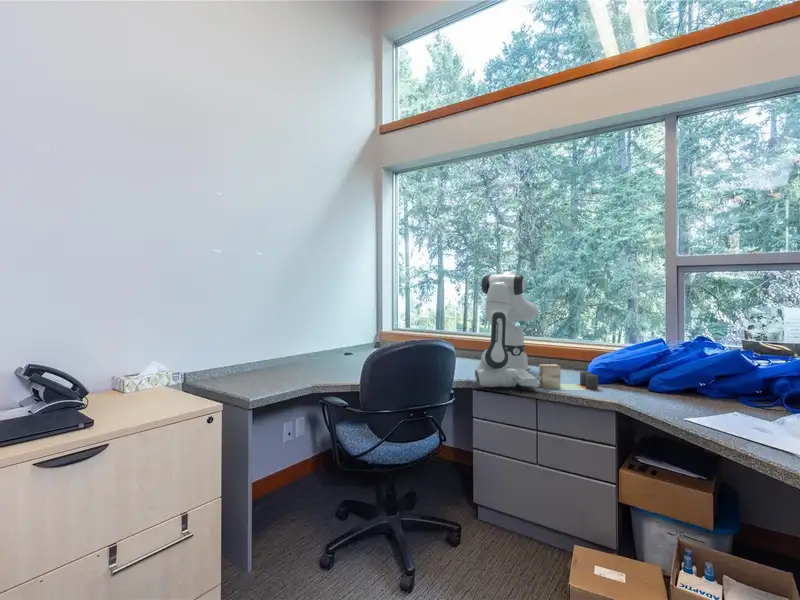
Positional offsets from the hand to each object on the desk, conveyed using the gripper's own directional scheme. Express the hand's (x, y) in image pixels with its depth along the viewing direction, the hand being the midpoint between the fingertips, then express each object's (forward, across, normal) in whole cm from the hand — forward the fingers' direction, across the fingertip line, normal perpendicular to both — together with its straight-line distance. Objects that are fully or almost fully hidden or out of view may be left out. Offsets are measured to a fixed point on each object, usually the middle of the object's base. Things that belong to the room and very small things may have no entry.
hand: (540, 377), depth 185 cm
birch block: (+4, 0, +4) cm, 6 cm away
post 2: (+22, -3, +4) cm, 23 cm away
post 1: (+22, +3, +4) cm, 23 cm away
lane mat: (+12, 0, +5) cm, 13 cm away
